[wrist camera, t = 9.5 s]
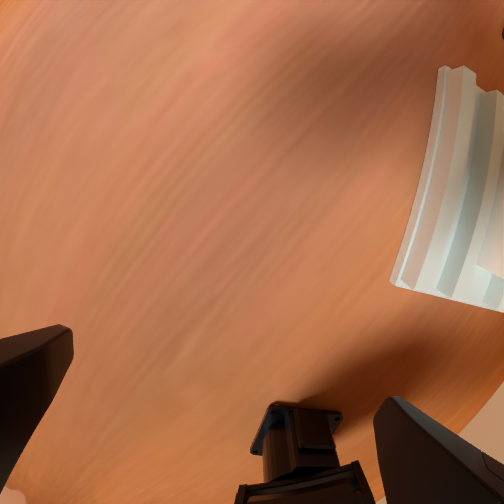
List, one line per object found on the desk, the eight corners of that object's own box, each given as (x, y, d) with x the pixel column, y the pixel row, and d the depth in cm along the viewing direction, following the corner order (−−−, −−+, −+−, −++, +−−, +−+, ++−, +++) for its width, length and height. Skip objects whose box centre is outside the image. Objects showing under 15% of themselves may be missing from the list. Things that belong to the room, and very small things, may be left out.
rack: (501, 309, 20) (521, 322, 17) (388, 280, 19) (408, 297, 16) (541, 146, 16) (563, 147, 14) (438, 68, 15) (461, 57, 13)
